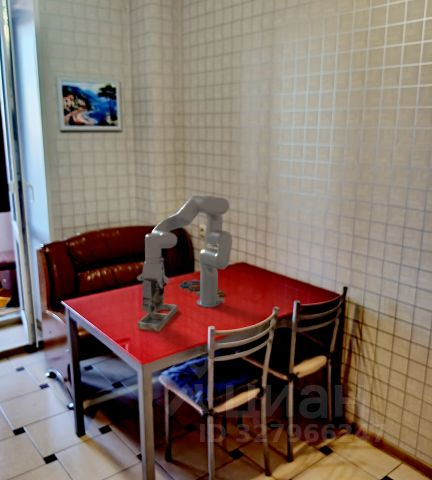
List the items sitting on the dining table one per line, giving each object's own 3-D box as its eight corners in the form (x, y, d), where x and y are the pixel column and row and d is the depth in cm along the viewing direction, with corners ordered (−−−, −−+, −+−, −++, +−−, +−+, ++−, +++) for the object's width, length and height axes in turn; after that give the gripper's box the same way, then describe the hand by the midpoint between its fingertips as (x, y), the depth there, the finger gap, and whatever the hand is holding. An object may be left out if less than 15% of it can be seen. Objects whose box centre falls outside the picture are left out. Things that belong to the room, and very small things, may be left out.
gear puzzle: (231, 294, 271) (231, 288, 270) (212, 301, 260) (212, 294, 259) (195, 282, 292) (195, 275, 291) (176, 287, 280) (176, 281, 280)
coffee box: (151, 314, 220) (152, 282, 216) (141, 310, 223) (142, 279, 219) (163, 308, 227) (165, 277, 224) (153, 305, 231) (155, 275, 227)
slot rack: (177, 310, 245) (177, 305, 244) (159, 331, 219) (159, 325, 218) (158, 308, 247) (158, 302, 246) (137, 328, 222) (137, 322, 221)
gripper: (173, 259, 221) (172, 293, 225) (139, 255, 225) (139, 289, 229) (167, 263, 213) (167, 298, 218) (133, 259, 218) (133, 294, 222)
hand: (153, 294), depth 223 cm, fingers closed on coffee box, 7 cm apart
